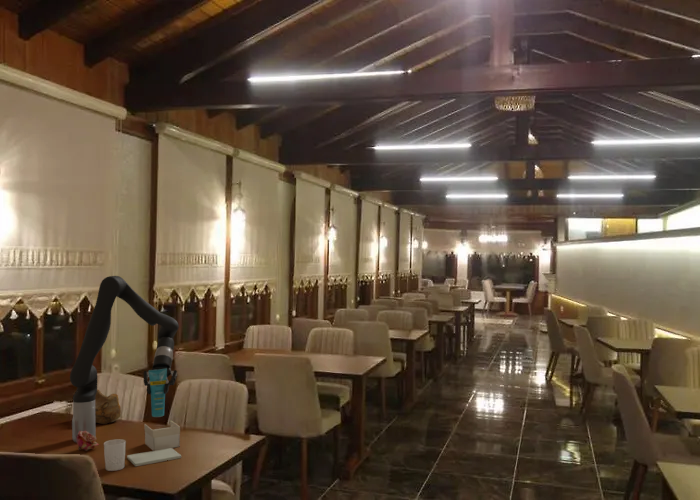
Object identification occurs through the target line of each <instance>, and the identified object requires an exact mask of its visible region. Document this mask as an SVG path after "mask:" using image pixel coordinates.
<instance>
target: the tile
mask: <svg viewBox="0 0 700 500" xmlns="http://www.w3.org/2000/svg"><path fill="white" fill-rule="evenodd" d="M126 458H127V460H128V461H129V462H130V463H131V464H132V465H134V467H139V466H140V467H141V466H145V465H151V464H155V463H161V462H167V460H168V461H173V460H178V459H182V455H181V453H179V452H177V451H176V449H174V448H167V449H161V450H156V451H153V450H152V451H145V452H140V453H139V452H138V453H133V454H128V455H127V454H126Z"/></svg>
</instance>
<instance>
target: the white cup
mask: <svg viewBox="0 0 700 500" xmlns="http://www.w3.org/2000/svg"><path fill="white" fill-rule="evenodd" d="M126 444H127V440H126V439H122V438H121V439H119V438H118V439H117V438H116V439H110V440H106V441H105V442H103V451H104V452H103V453H104V456H103V457H104V464H105V466H104V467H105V470H106V471H109V472H113V471H120V470H123V469H124V468H125V462H126V461H125V460H126Z"/></svg>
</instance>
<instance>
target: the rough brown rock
mask: <svg viewBox="0 0 700 500" xmlns="http://www.w3.org/2000/svg"><path fill="white" fill-rule="evenodd" d="M121 415H122V407H121V405H120V401H119V395H118V394H117V393H111V394H109V395H108V396H107V395H105V394H104V393H102V391H100V389H98V388H97V393H96V396H95V423H97V424H101V425H102V424H103V425H107V424H108V423H113V422H116V421H117V420H119V418H120V417H121Z"/></svg>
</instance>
